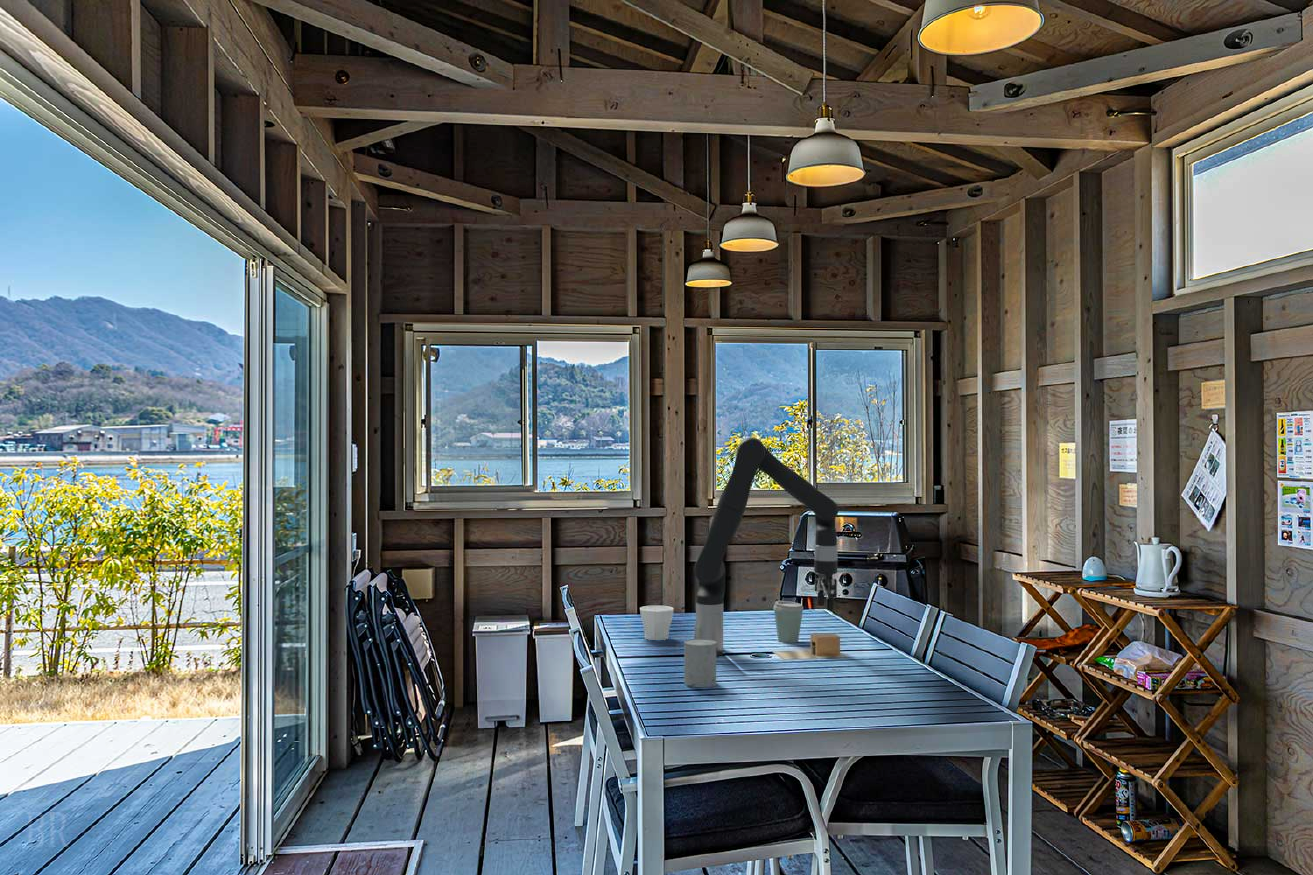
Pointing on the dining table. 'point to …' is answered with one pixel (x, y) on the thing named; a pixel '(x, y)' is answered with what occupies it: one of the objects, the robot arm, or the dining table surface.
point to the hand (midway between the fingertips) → (825, 607)
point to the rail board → (803, 654)
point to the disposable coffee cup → (788, 620)
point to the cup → (656, 621)
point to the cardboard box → (825, 644)
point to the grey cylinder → (700, 662)
